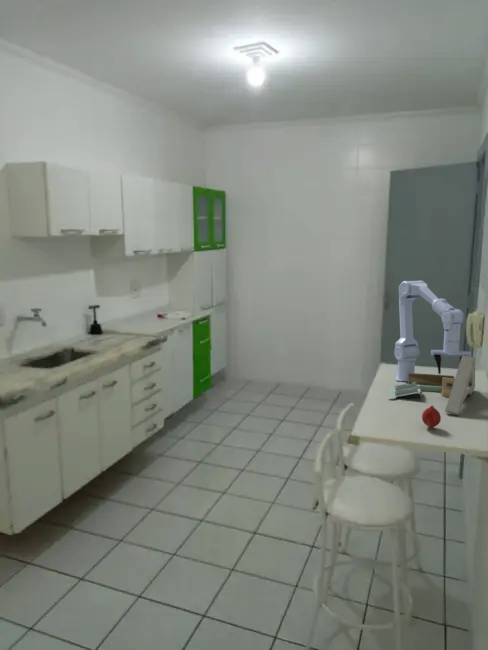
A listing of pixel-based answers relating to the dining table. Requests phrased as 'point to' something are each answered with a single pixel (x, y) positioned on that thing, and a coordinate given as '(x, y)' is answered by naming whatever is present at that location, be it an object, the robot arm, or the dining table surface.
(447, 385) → the cabinet block
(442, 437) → the dining table surface
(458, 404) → the white letter a
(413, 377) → the wall board
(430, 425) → the onion
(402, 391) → the metal bracket
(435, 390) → the cleat ledge
